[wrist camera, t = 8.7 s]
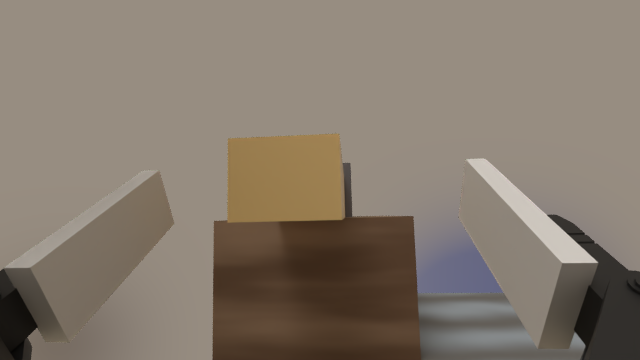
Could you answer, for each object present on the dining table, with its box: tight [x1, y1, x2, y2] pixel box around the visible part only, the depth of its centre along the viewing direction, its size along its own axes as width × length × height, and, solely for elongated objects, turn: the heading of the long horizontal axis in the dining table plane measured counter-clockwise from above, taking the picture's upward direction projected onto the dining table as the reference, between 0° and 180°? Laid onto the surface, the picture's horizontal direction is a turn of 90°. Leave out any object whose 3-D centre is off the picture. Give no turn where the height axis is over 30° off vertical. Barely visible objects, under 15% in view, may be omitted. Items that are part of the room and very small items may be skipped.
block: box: [227, 134, 352, 223], centre depth 21 cm, size 18×5×4 cm, turn 175°
